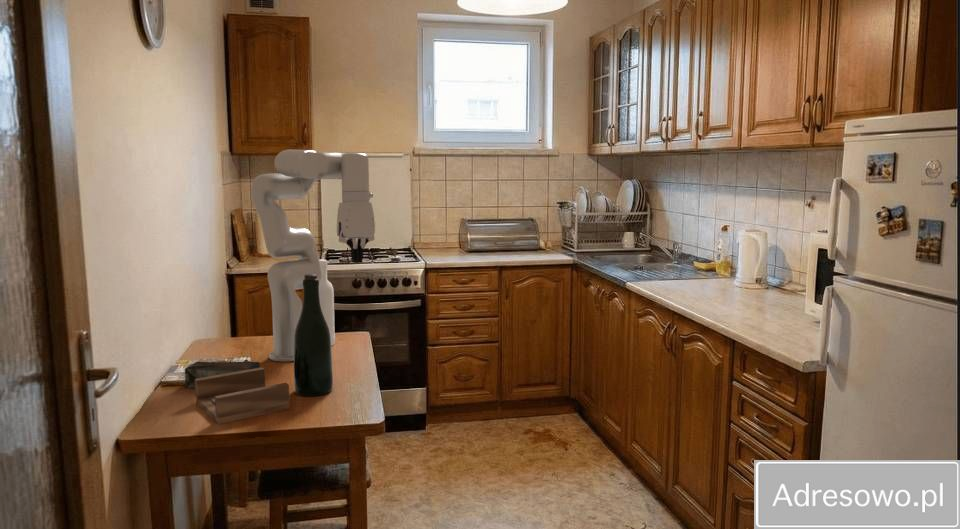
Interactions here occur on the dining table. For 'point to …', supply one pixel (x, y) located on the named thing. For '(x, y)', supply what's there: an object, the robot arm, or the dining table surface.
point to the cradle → (240, 395)
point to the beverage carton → (214, 370)
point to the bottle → (327, 300)
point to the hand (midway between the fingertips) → (357, 262)
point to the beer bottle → (312, 345)
